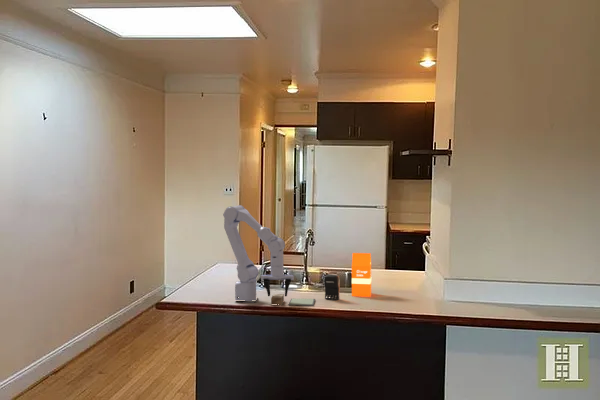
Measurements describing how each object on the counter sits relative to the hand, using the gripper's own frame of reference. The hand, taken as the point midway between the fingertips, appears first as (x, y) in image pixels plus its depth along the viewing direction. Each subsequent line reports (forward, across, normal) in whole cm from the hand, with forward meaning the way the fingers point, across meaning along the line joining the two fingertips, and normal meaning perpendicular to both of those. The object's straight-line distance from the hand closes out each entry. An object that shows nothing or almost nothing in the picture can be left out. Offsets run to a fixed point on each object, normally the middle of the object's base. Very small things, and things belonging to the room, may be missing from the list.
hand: (277, 295), depth 234 cm
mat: (+3, +11, +1) cm, 11 cm away
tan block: (+4, 0, 0) cm, 4 cm away
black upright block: (+4, +24, +8) cm, 25 cm away
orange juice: (+4, +38, +19) cm, 43 cm away
